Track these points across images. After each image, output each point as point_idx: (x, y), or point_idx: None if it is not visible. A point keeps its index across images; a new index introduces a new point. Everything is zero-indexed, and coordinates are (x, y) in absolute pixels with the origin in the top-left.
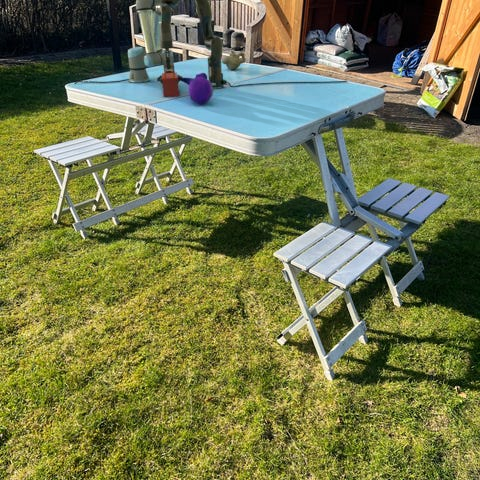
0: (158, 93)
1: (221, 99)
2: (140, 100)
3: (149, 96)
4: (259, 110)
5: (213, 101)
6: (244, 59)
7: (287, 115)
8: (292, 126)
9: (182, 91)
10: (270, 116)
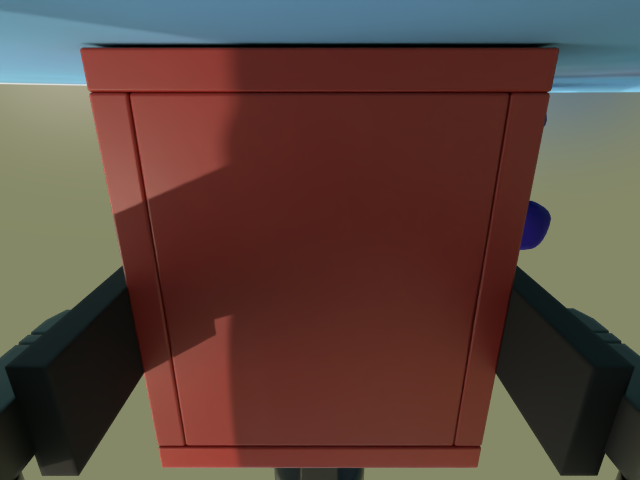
0: (63, 63)
1: (637, 85)
2: (61, 82)
3: (43, 75)
4: (602, 90)
5: (557, 86)
6: None
7: (619, 91)
8: (551, 92)
9: (599, 56)
10: (573, 91)
